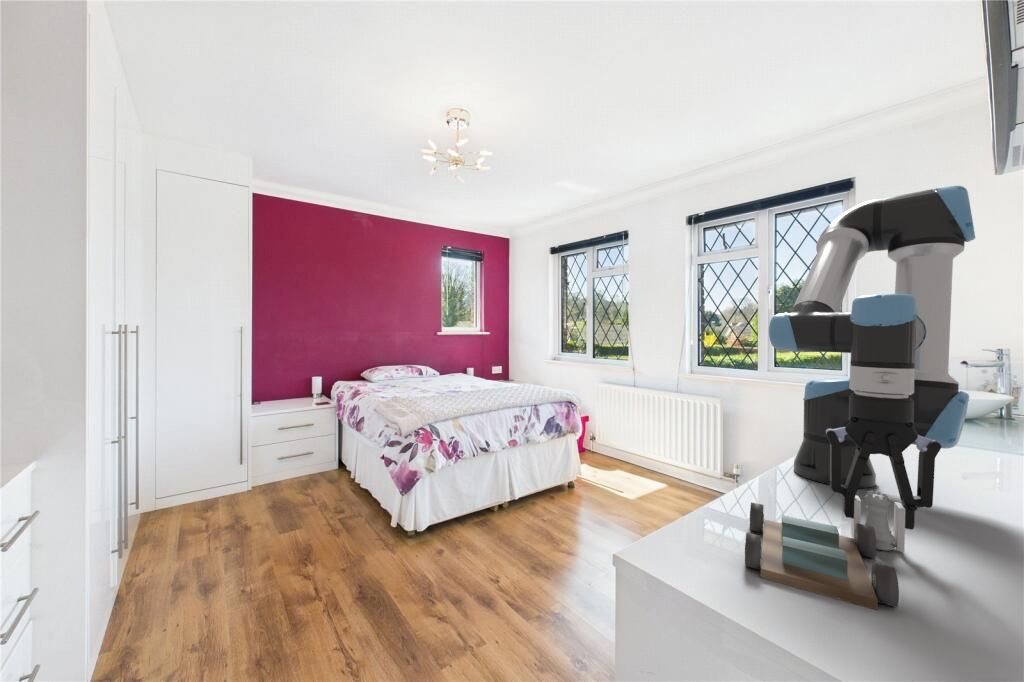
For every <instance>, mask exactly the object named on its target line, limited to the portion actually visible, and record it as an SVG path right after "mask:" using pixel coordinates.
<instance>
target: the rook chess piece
mask: <svg viewBox="0 0 1024 682" xmlns="http://www.w3.org/2000/svg"><path fill="white" fill-rule="evenodd" d="M874 492H875V491H873V490H869V491H866V495H864V497H863V499H864V500H865V501H866V503H867V505H866V506H865V508H866V517H865V522H864V523H862V525H867V526H872V527H874V530H875V535H876V550H878V551H879V550H880V551H885V552H889V551H893V550H894V549H896V546H895V544H894V542H895V538H894V534H893V533H892V531H891V530H890V526H889V520H888V518H889V517H888V515H889V513H890V510H889V509H888V507H889V506H891V505H892V501H891V500H890V499H889V495H888V494H887V493H884V492H883V493H882V495H881V491H876V492H875V493H874Z"/></svg>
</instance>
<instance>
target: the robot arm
mask: <svg viewBox="0 0 1024 682" xmlns="http://www.w3.org/2000/svg"><path fill="white" fill-rule="evenodd" d="M969 197H970V196H969V191H968V189H967V188H966V187H964V186H962V185H950V186H945V187H933V188H931V189H925V190H922V191H921V190H920V191H916V192H911V193H905V194H899V195H894V196H889V197H884V198H879V199H878V198H876V199H871V200H868V201H867V200H866V201H864V202H861V203H860V204H857V205H855V206H853V207H851V208H849V209H848V210H846V211H844V212H843V213H842V214H840V215H838V216H837V218H835V219H834V220H833V221H831V222H830V223H829V224H828V226H826V228H825V229H824V230H823V231H822V232H821V234H820V235H819V238H818V240H817V243H816V244H815V245H816V247H815V248H816V249H815V250H816V256H815V259H814V260H813V262H812V265H811V266H810V269H809V271H808V274H807V276H806V278H805V281H804V283H803V285H802V287H801V288H800V291H799V294H798V296H797V298H796V300H795V302H794V304H793V306H792V309H791V311H790V312H787V311H786V312H784V313H783V312H782V313H776V314H775V315H772V317H771V319H770V322H769V325H768V337H769V341H770V344H771V346H772V347H773V348H774V349H775V350H777V351H778V350H779V351H787V352H789V351H790V352H796V353H799V352H803V353H804V352H806V353H807V352H808V353H809V352H810V353H813V352H814V353H841V354H842V353H843V354H844V353H845V354H850V361H849V363H850V365H849V377H839V378H835V377H834V378H819V379H812V380H809V381H808V382H806V384H805V387H804V396H803V399H802V400H803V437H802V442H801V444H800V446H799V448H798V451H797V454H796V456H795V458H794V461H793V471H794V473H796V474H797V475H799V476H801V477H803V478H805V479H808V480H811V481H814V482H819V483H822V484H827V485H829V486H830V489H831V490H832V492H833V493H838V494H841V495H842V496H843V510H842V511H843V514H844V516H845V517H846V518H849V519H851V523H850V524H851V527H850V528H851V530H850V532H851V533H850V535H851V538H854V540H855V528H856V524H861V522H862V521H861V520H862V518H861V517H862V516H861V515H862V514H861V513H862V500H861V498H860V497H859V495H857V492H858V489H863V488H864V489H865V488H866V489H867V488H872V487H875V486H876V484H877V480H876V479H877V478H876V477H877V476H876V475H877V474H876V472H875V469H874V466H873V464H872V461H871V458H870V456H871V455H883V456H886V457H888V458H889V461H890V465H891V468H892V472H893V475H894V479H895V482H896V486H897V490H898V494H899V498H900V501H901V502H898V501H897V502H896V501H894V503H893V507H894V508H893V536H894V538H895V542H894V544H895V546H896V547H895V549H896V550H897V551H898V552H902V553H904V552H905V545H906V543H905V541H906V540H905V538H906V537H905V536H906V535H905V534H906V529H907V530H910V531H911V530H913V529H914V528H915V518H916V517H915V512H916V511H917V510H918V508H926V509H927V508H928V509H929V508H932V507H933V505H934V504H933V502H934V487H935V486H934V484H935V468H936V467H935V466H936V465H935V463H936V457H937V455H938V454H939V452H940V451H941V449H946V450H948V449H951V448H954V447H955V446H957V445H958V443H959V440H960V439H961V435H962V431H963V428H964V424H965V421H966V417H967V411H968V405H969V402H970V395H969V393H967V392H964V391H963V390H962V391H961V390H960V391H959V389H960V388H959V385H960V382H959V381H957V380H956V379H955V378H953V377H952V376H951V375H950V374H949V367H950V366H949V365H950V364H949V361H950V359H949V358H950V341H951V339H950V337H951V315H952V312H951V311H952V293H953V291H952V289H953V264H954V259H955V258H956V257H958V256H959V255H961V254H962V253H963V252H964V251H965V243H969V242H971V241H974V240H976V235H975V232H976V231H975V226H974V219H973V214H972V209H971V208H972V207H971V204H970V198H969ZM877 251H880V252H881V251H887V257H888V258H889V259H890V260H892V261H893V262H894V263H896V265H895V281H894V283H895V285H894V286H895V287H894V293H886V294H885V293H884V294H883V293H882V294H878V293H877V294H868V295H860V296H857V297H855V298H854V299H853V301H852V305H851V311H840V308H841V306H842V303H843V300H844V298H845V295H846V292H847V290H848V287H849V285H850V282H851V280H852V277H853V274H854V272H855V269H856V266H857V264H858V261H859V260H861V259H862V258H863V257H864V256H865V255H866V254H867V253H870V252H877ZM911 445H914V446H916V449H917V450H918V451H919V453H918V463H917V464H918V465H917V483H916V485H917V486H916V495H914V494H913V491H912V487H911V484H910V480H909V475H908V472H907V469H906V464H905V459H904V455H903V452H904V451H905V450H907V448H908V447H910V446H911Z"/></svg>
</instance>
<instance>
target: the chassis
mask: <svg viewBox="0 0 1024 682" xmlns="http://www.w3.org/2000/svg"><path fill="white" fill-rule="evenodd" d="M749 510H750V511H749V530H750V531H753V532H758V533H762V535H759V534H754V533H750V532H746V534H745V542H744V566H746V567H749V568H751V569H752V568H753V569H755V570H760V578H763V579H765V578H766V579H765V580H769V581H773V582H776V583H780V584H784V585H788V586H791V587H795V588H798V589H802V590H805V591H808V592H812V593H815V594H820V595H823V596H827V597H830V598H833V597H834V599H836V600H837V599H838V600H840V601H841V600H842V601H844V602H848V603H851V604H855V605H858V606H862V607H866V608H869V609H873V610H877V611H878V609H879V608H878V607H879V603H880V604H885V605H886V606H887V605H888V606H892V607H896V608H897V607H898V605H899V599H900V588H899V578H898V574H897V571H896V568H895V566H892V565H887V564H883V563H877V562H873V563H872V565H871V579H870V576H869V574H868V572H867V568H866V567H865V564H864V561H863V559H862V557H866V558H871V559H875V558H876V555H877V549H876V535H875V530H874V527H872V526H867V525H863V523H862V524H856V528H855V540H854V538H852V537H848V536H843V535H840V532H839V529H838V526H836V525H833V524H832V525H831V524H826V523H821V522H818V521H817V522H816V521H811V520H808V519H802V518H797V517H794V516H788V515H783V514H782V515H781V522H778V521H774V520H769V519H765V514H764V504H762V503H761V504H760V503H756V502H750V508H749Z"/></svg>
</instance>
